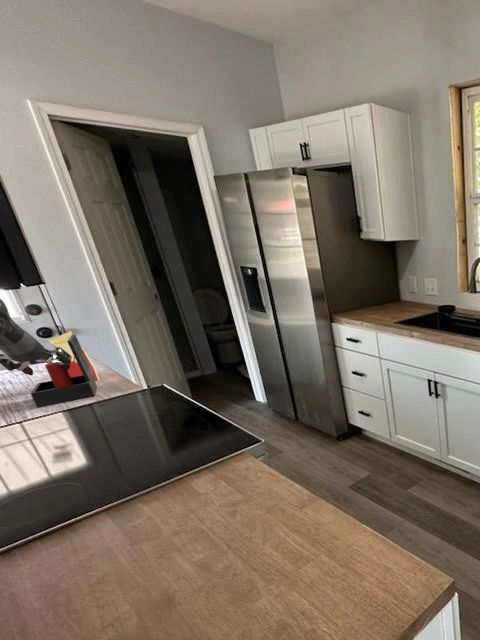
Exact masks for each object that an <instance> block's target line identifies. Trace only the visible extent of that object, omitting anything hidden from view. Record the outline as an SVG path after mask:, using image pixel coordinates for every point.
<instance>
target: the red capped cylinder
mask: <svg viewBox="0 0 480 640" xmlns="http://www.w3.org/2000/svg"><path fill="white" fill-rule="evenodd" d="M44 366H45V368H46V371H47V373H48V375H49V377H50V381H52V382H53V384H54V386H55V388H60V387H66V386H71V385H74V384H73V382H72V380H71V377H70V375H69V373H68V371H67V370H65V369H64V368H63V367H61V366H60V365H59V364H48V363H45V365H44Z"/></svg>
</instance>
